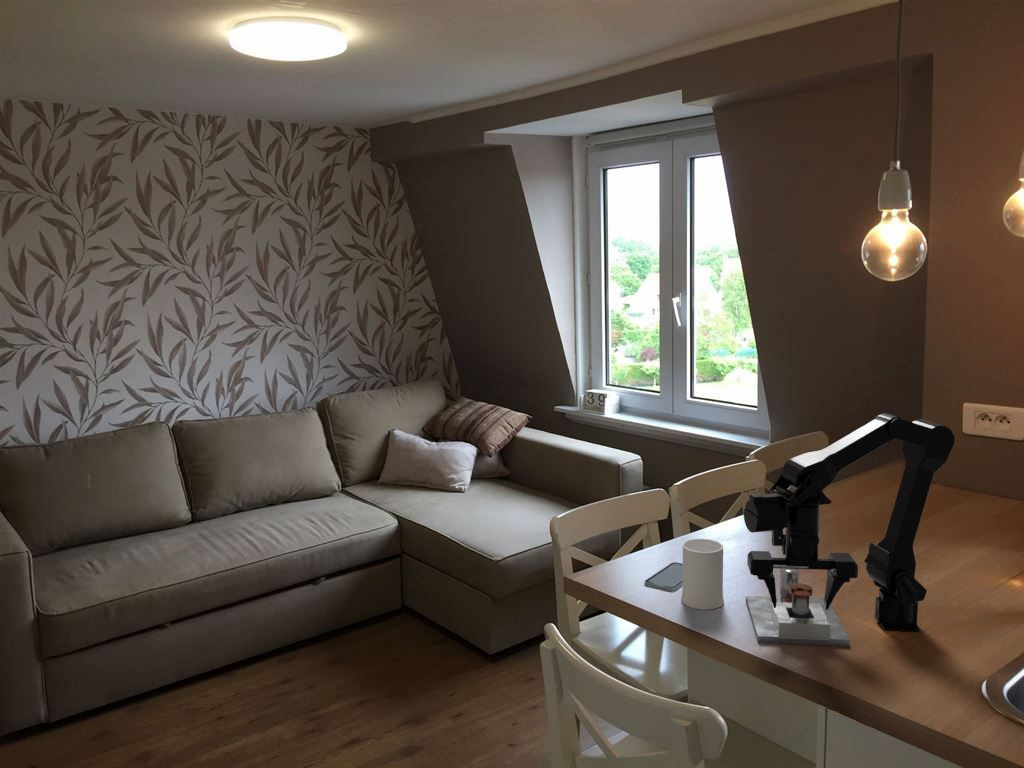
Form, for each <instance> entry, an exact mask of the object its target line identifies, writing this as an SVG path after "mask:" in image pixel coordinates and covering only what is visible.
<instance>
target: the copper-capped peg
mask: <svg viewBox="0 0 1024 768" xmlns="http://www.w3.org/2000/svg"><path fill="white" fill-rule="evenodd" d="M790 593H791V594H792V618H809V598H811V596H813V587H812V586H811V585H809V584H805V583H800V582H799V583H796V584H792V585H790Z"/></svg>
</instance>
